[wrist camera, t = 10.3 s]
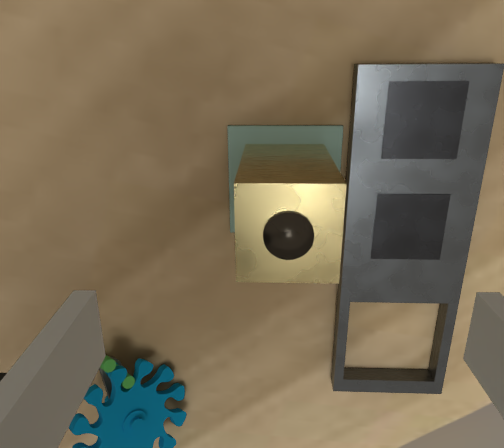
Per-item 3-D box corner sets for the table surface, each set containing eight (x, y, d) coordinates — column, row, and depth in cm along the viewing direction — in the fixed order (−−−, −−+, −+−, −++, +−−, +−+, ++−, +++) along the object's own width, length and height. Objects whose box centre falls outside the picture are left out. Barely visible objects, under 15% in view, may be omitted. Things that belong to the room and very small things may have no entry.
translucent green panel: (230, 230, 34) (230, 232, 33) (228, 125, 31) (227, 126, 30) (335, 231, 33) (336, 233, 33) (342, 125, 30) (343, 126, 30)
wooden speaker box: (246, 217, 33) (235, 283, 23) (245, 144, 31) (233, 184, 21) (319, 217, 32) (339, 285, 23) (323, 144, 30) (347, 185, 21)
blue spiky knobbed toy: (202, 440, 39) (96, 518, 33) (169, 416, 44) (71, 480, 38) (171, 330, 37) (52, 392, 31) (141, 316, 42) (31, 368, 36)
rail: (330, 378, 38) (333, 391, 37) (354, 64, 29) (358, 64, 27) (434, 381, 38) (441, 394, 36) (493, 63, 28) (505, 63, 27)
